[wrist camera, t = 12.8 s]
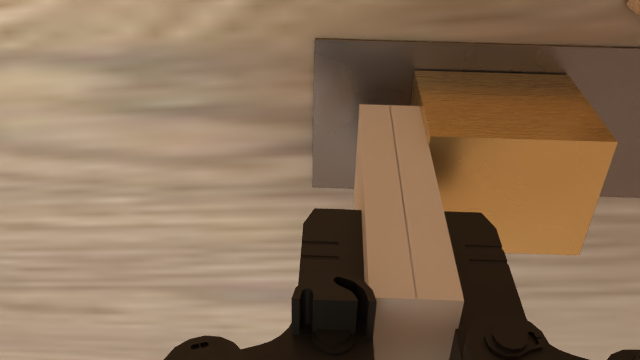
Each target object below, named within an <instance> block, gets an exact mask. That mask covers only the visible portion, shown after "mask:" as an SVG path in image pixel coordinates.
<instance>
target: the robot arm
mask: <svg viewBox="0 0 640 360" xmlns="http://www.w3.org/2000/svg"><path fill="white" fill-rule="evenodd" d="M164 360H588V359H585V358H581V357H578V356H574V355H571V354H569V353H566V352H563V351H561V350H558V349H557V348H555V347H553V346H552V345H550V344H549V343H548V341H547V339H546V338H545V336H544V334H543V333H542V332H541V331H540V330H539V329H538V328H537V327H536V326H534V325H533V324H532V323H531V322H529V321H527V319H526V317H525V313H524V310H523V307H522V304H521V301H520V298H519V295H518V292H517V289H516V286H515V283H514V280H513V277H512V274H511V271H510V268H509V265H508V264H507V259H506V256H505V253H504V250H502V244H501V241H500V238H499V235H498V232H497V229H496V228H495V227H494V225H493V224H492V223H491V222H490V221H489V220H488V219H487V218H486V217H485V216H484V215H483V214H482V213H481V212H451V211H444V210H443V205H442V201H441V197H440V192H439V188H438V183H437V179H436V175H435V170H434V166H433V161H432V157H431V153H430V148H429V146H428V142H427V137H426V133H425V129H424V124H423V120H422V116H421V111H420V107H419V106H399V105H367V104H359V119H358V135H357V151H356V167H355V183H354V210H345V209H314V210H313V211H312V213H311V214H310V215H309V217H308V218H307V219H306V221H305V222H304V224H303V235H302V247H301V259H300V271H299V283H298V286H297V287H296V288H295V291H294V294H293V297H292V323H291V325H290V327H289V328H288V329H287V330H286V331H285V332H284V333H283V334H282V335H280V336H279V337H277V338H275V339H274V340H272V341H270V342H267V343H264V344H261V345H257V346H253V347H249V348H245V349H241V350H240V348H239V347H238V346H237V345H236V344H235V343H234V342H231V341H229V340H227V339H225V338H222V337H216V336H201V337H197V338H193V339H189V340H187V341H185V342H184V343H182V344H180V345H178V346H177V347H175V348H174V349H173V350H172V351H171V352H170V353H169V355H168V356H167V357H166V358H165V359H164ZM607 360H640V350H621V351H619V352H616V353H614V354H611V355H610V357H609V358H608V359H607Z"/></svg>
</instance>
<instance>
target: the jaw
mask: <svg viewBox="0 0 640 360" xmlns="http://www.w3.org/2000/svg"><path fill="white" fill-rule="evenodd" d="M627 6H628V7H629V8H631V9H632V10H633V11H634V12H635V13H636V14H638V15H639V16H640V0H628V2H627Z"/></svg>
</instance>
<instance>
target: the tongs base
mask: <svg viewBox="0 0 640 360" xmlns="http://www.w3.org/2000/svg"><path fill="white" fill-rule="evenodd" d="M414 70H415V71H450V72H484V73H519V74H553V75H569V76H570V78H571V79H572V80H573V82H574V83H575V84H576V86H577V87H578V88H579V90H580V91H581V93H582V94H583V95H584V97H585V98H586V99H587V101H588V102H589V103H590V105H591V106H592V108H593V109H594V110H595V112H596V113H597V114H598V116H599V117H600V118H601V120H602V121H603V123H604V124H605V125H606V127H607V128H608V129H609V131H610V132H611V133H612V135H613V136H614V138H615V139H616V140H617V142H618V143H617V146H616V149H615V152H614V155H613V158H612V161H611V163H610V166H609V169H608V172H607V175H606V178H605V181H604V184H603V187H602V190H601V193H600V195H599V196H605V197H637V198H640V48H624V47H589V46H554V45H519V44H484V43H449V42H413V41H378V40H343V39H315V49H314V117H313V185H312V187H318V188H350V189H354V183H355V167H356V151H357V135H358V119H359V104H367V105H399V106H410V105H411V96H412V87H413V79H414Z"/></svg>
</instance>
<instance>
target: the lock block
mask: <svg viewBox="0 0 640 360" xmlns="http://www.w3.org/2000/svg"><path fill="white" fill-rule="evenodd" d="M410 106H419V107H420V111H421V116H422V120H423V124H424V129H425V133H426V137H427V142H428V146H429V148H430V153H431V157H432V161H433V166H434V170H435V175H436V179H437V183H438V188H439V192H440V197H441V201H442V205H443V210H444V211H451V212H481V213H482V214H483V215H484V216H485V217H486V218H487V219H488V220H489V221H490V222H491V223H492V224H493V225H494V227H495V228H496V229H497V232H498V235H499V238H500V241H501V244H502V250H504V253H528V254H558V255H579V254H580V251H581V248H582V245H583V242H584V239H585V236H586V233H587V230H588V228H589V225H590V222H591V219H592V216H593V213H594V210H595V207H596V204H597V201H598V198H599V195H600V193H601V190H602V187H603V184H604V181H605V178H606V175H607V172H608V169H609V166H610V163H611V161H612V158H613V155H614V152H615V149H616V146H617V143H618V142H617V140H616V139H615V138H614V136H613V135H612V133H611V132H610V131H609V129H608V128H607V127H606V125H605V124H604V123H603V121H602V120H601V118H600V117H599V116H598V114H597V113H596V112H595V110H594V109H593V108H592V106H591V105H590V103H589V102H588V101H587V99H586V98H585V97H584V95H583V94H582V93H581V91H580V90H579V88H578V87H577V86H576V84H575V83H574V82H573V80H572V79H571V78H570V76H569V75H553V74H519V73H484V72H450V71H415V70H414V79H413V87H412V96H411V105H410Z"/></svg>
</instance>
